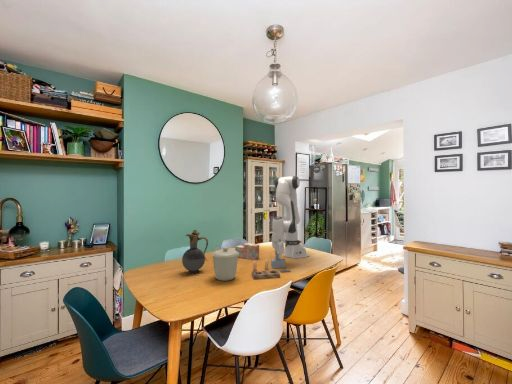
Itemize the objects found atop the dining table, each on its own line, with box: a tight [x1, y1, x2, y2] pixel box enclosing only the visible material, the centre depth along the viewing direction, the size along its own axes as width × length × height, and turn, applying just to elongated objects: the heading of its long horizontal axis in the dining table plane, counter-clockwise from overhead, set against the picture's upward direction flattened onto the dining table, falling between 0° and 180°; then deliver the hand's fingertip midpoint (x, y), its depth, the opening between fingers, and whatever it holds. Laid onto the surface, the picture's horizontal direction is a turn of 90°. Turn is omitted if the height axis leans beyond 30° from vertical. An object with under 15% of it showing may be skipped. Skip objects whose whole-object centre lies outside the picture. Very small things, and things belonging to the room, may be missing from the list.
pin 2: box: [264, 259, 269, 271], centre depth 180 cm, size 3×3×7 cm
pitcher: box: [181, 229, 209, 275], centre depth 175 cm, size 11×19×30 cm, turn 126°
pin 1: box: [252, 260, 258, 272], centre depth 177 cm, size 3×3×7 cm
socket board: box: [251, 269, 281, 280], centre depth 165 cm, size 18×8×2 cm, turn 101°
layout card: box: [279, 268, 291, 273], centre depth 175 cm, size 7×3×1 cm, turn 101°
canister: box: [211, 246, 239, 282], centre depth 162 cm, size 18×18×21 cm
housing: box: [270, 253, 286, 269], centre depth 186 cm, size 10×5×10 cm, turn 101°
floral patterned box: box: [234, 242, 260, 261], centre depth 211 cm, size 21×6×12 cm, turn 57°
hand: (278, 256), depth 186 cm, fingers open, 7 cm apart
